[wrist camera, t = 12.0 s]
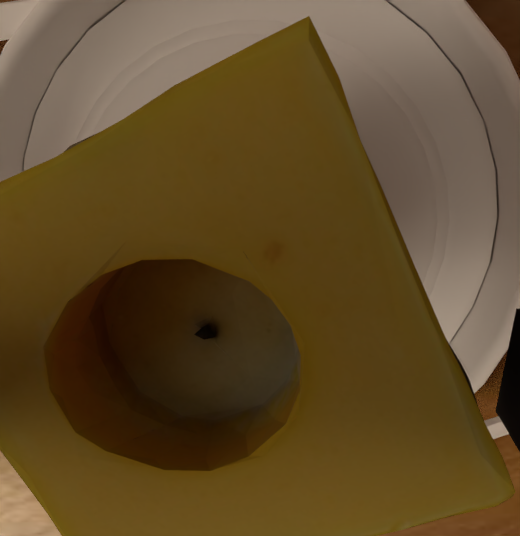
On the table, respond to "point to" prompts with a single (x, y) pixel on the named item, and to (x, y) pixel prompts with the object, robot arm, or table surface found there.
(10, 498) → the table surface
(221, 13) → the pan
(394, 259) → the candle
